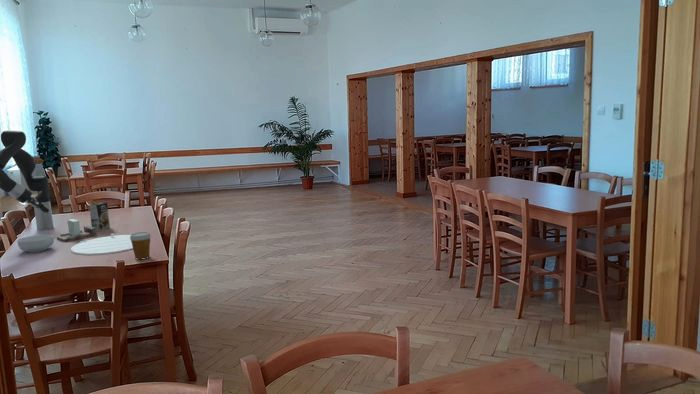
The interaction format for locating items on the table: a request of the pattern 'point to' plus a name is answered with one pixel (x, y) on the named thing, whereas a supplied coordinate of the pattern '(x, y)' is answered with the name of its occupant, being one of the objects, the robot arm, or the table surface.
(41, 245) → the cereal bowl
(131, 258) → the table surface
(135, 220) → the table surface
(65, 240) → the track
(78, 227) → the pale green rectangular block
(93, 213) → the coffee box
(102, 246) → the lazy susan
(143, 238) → the beer glass
